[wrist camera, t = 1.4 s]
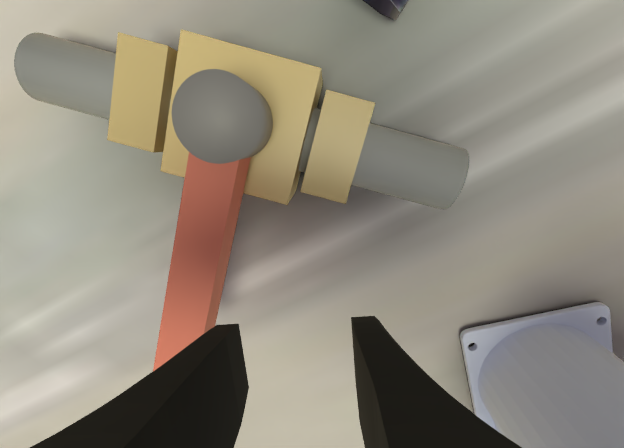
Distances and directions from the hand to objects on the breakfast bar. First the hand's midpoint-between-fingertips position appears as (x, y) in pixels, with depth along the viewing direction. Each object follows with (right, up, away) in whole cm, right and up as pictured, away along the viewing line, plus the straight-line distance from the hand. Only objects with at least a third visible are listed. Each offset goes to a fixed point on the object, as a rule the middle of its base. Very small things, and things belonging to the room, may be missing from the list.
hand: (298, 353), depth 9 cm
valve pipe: (-2, +9, +8) cm, 12 cm away
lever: (-4, +3, +5) cm, 7 cm away
